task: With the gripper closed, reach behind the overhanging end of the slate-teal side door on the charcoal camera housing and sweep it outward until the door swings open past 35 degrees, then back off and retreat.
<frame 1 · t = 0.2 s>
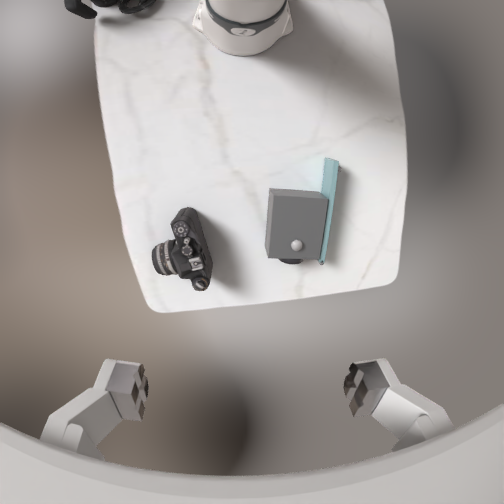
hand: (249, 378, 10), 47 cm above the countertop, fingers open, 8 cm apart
side door: (327, 211, 54), point 3 cm above the countertop, hinge at 0.0°
camera: (183, 242, 58), on the countertop
camera housing: (291, 218, 57), on the countertop
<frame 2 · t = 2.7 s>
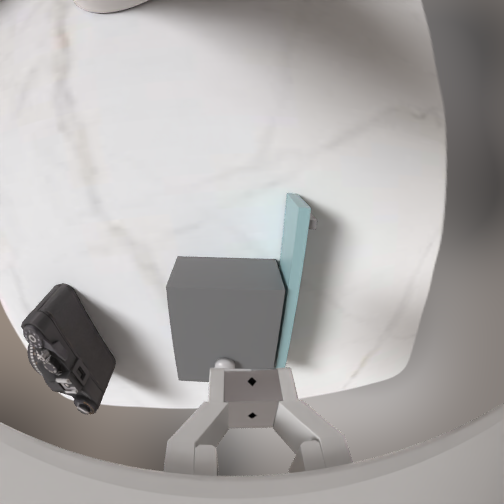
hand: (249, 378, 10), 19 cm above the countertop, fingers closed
side door: (289, 301, 28), point 3 cm above the countertop, hinge at 0.0°
camera: (71, 329, 32), on the countertop
camera housing: (225, 306, 32), on the countertop
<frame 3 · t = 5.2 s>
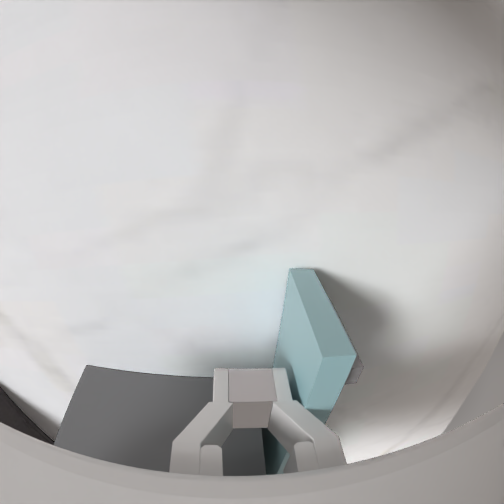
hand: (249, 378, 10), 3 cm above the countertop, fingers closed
side door: (283, 446, 13), point 3 cm above the countertop, hinge at 1.5°, touching gripper
camera: (6, 409, 18), on the countertop
camera housing: (178, 427, 17), on the countertop
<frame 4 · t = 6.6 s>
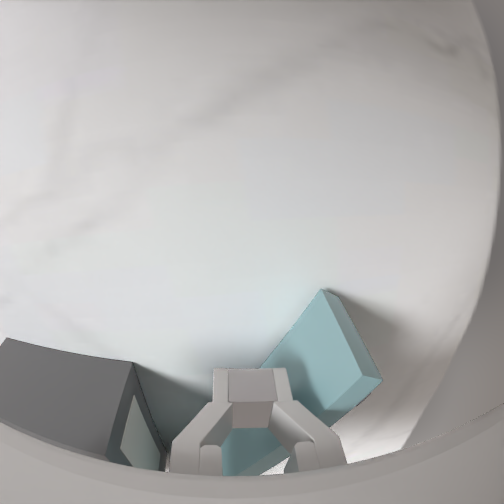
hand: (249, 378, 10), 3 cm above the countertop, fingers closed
side door: (233, 450, 13), point 3 cm above the countertop, hinge at 25.7°, touching gripper
camera housing: (89, 408, 16), on the countertop
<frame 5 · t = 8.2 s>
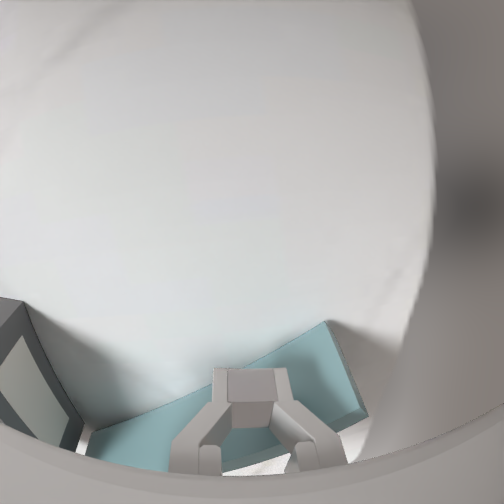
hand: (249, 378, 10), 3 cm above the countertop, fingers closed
side door: (175, 444, 13), point 3 cm above the countertop, hinge at 50.3°, touching gripper
camera housing: (8, 361, 14), on the countertop
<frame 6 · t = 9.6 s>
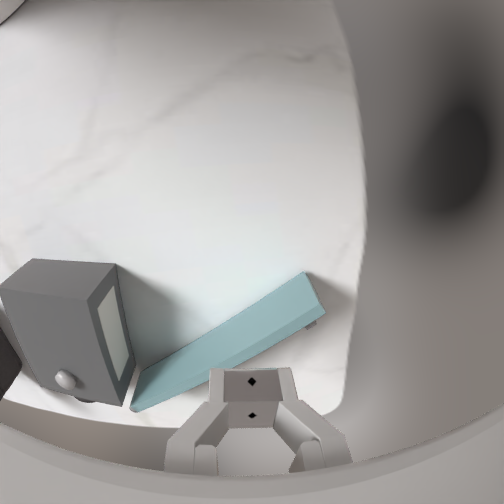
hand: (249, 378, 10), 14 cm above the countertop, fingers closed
side door: (213, 356, 23), point 3 cm above the countertop, hinge at 50.3°
camera housing: (82, 315, 25), on the countertop
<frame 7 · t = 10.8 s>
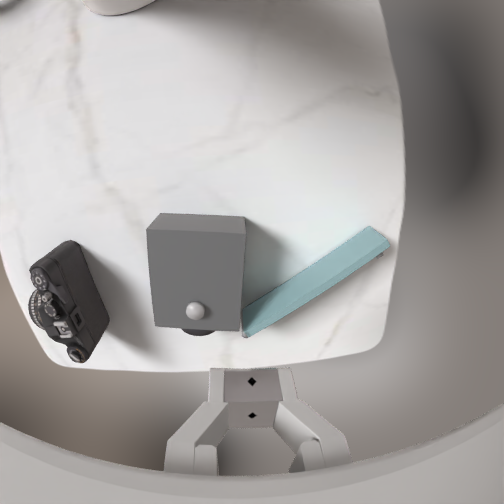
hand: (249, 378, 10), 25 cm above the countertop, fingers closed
side door: (312, 284, 34), point 3 cm above the countertop, hinge at 50.3°
camera: (71, 287, 36), on the countertop
camera housing: (200, 261, 36), on the countertop
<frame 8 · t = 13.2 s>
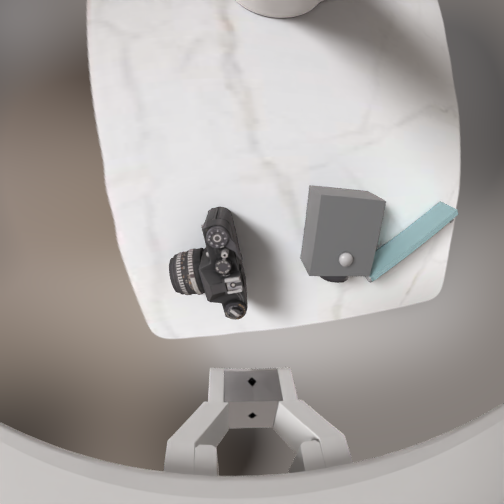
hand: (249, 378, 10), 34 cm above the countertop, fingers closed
side door: (410, 241, 44), point 3 cm above the countertop, hinge at 50.3°
camera: (209, 252, 45), on the countertop
camera housing: (334, 224, 45), on the countertop
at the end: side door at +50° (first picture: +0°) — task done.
